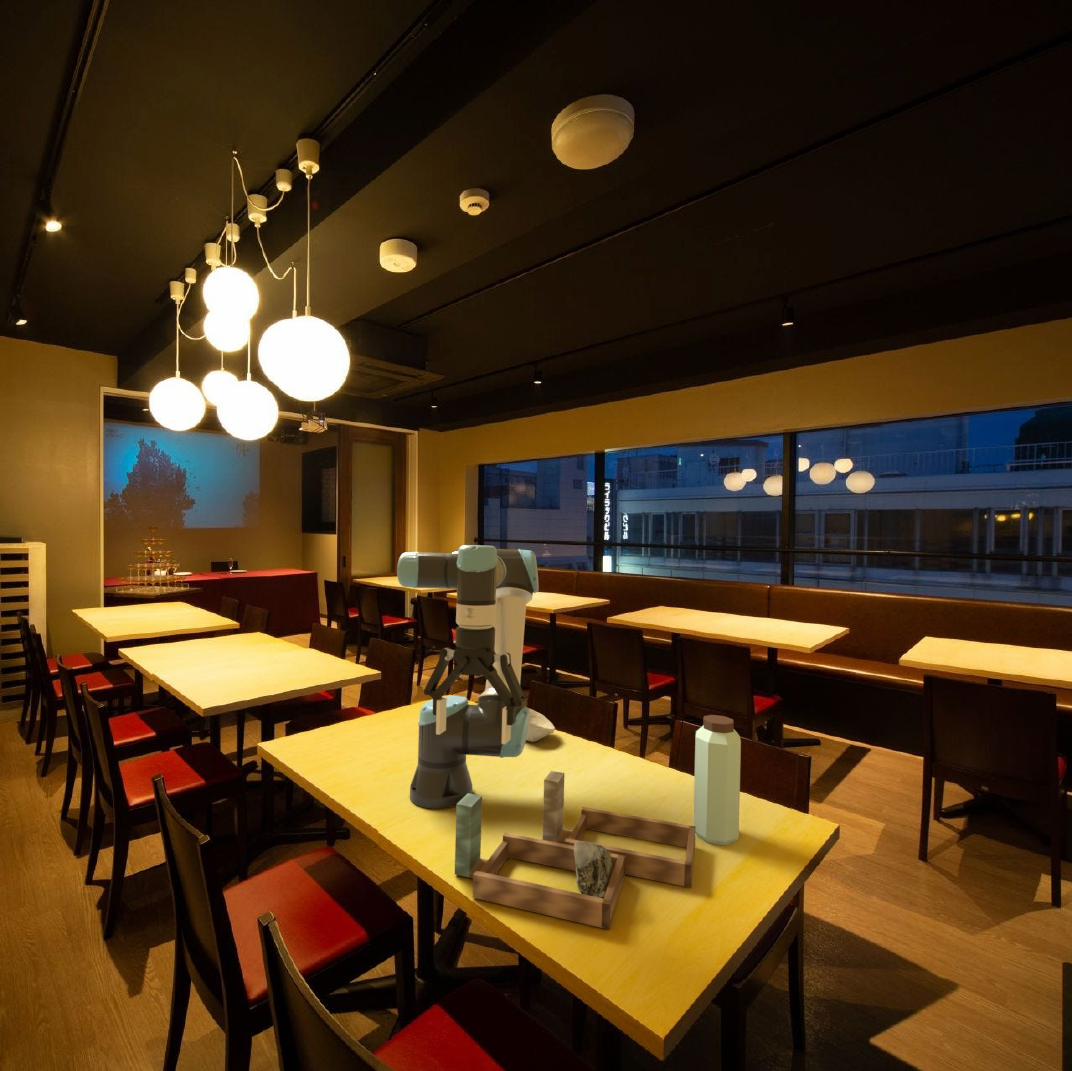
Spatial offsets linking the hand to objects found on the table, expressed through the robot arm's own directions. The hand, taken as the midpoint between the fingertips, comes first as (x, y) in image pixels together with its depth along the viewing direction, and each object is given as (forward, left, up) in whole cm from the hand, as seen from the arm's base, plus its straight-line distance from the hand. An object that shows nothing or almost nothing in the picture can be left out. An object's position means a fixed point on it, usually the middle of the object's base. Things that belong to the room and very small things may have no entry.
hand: (472, 737), depth 110 cm
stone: (+24, 0, -25) cm, 35 cm away
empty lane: (+26, +16, -25) cm, 39 cm away
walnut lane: (+14, -1, -25) cm, 28 cm away
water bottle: (+45, +30, -25) cm, 59 cm away
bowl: (-11, +72, -25) cm, 77 cm away
